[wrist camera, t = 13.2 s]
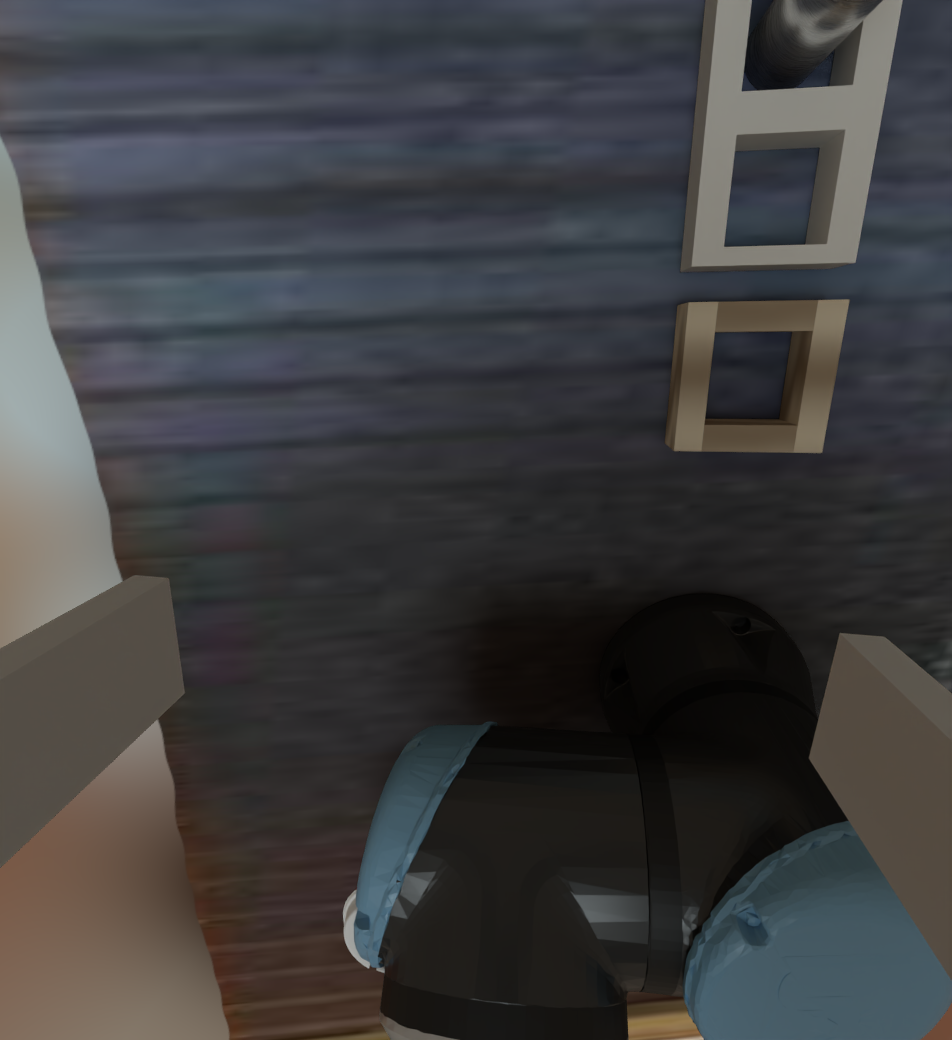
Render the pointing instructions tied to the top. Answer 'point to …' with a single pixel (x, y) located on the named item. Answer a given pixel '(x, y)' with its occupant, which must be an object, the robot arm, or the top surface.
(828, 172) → the rack
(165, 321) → the top surface
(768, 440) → the socket block
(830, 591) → the top surface
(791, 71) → the grey peg
